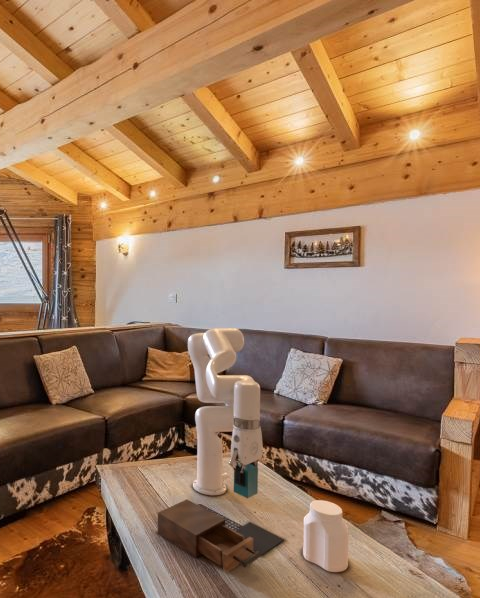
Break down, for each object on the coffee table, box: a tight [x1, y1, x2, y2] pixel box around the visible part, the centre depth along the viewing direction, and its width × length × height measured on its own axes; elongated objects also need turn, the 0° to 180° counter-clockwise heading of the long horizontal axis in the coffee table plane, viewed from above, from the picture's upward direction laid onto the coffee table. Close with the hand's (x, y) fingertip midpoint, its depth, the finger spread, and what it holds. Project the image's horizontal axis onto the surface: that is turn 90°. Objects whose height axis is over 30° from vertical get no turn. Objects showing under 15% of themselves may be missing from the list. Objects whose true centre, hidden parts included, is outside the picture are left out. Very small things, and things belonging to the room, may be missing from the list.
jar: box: [302, 499, 350, 573], centre depth 121 cm, size 12×10×15 cm
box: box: [233, 464, 259, 499], centre depth 128 cm, size 5×5×8 cm
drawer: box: [198, 524, 262, 573], centre depth 122 cm, size 19×12×5 cm, turn 38°
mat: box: [235, 521, 285, 557], centre depth 131 cm, size 12×12×1 cm
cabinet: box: [157, 498, 226, 559], centre depth 132 cm, size 16×14×7 cm
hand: (245, 481), depth 128 cm, fingers closed on box, 5 cm apart
